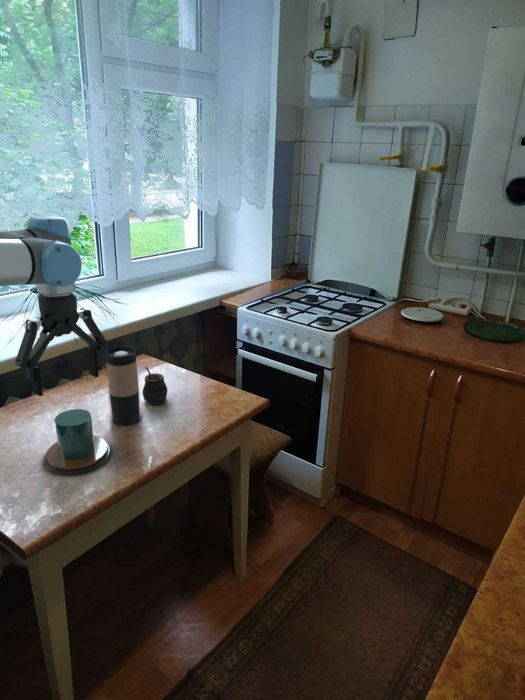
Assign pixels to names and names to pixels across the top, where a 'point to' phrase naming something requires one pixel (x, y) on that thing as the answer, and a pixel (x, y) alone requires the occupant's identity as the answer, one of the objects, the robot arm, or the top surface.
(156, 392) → the mate gourd
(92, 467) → the base
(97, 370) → the robot arm
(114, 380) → the travel mug
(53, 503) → the top surface
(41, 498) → the top surface
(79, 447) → the tea cup
